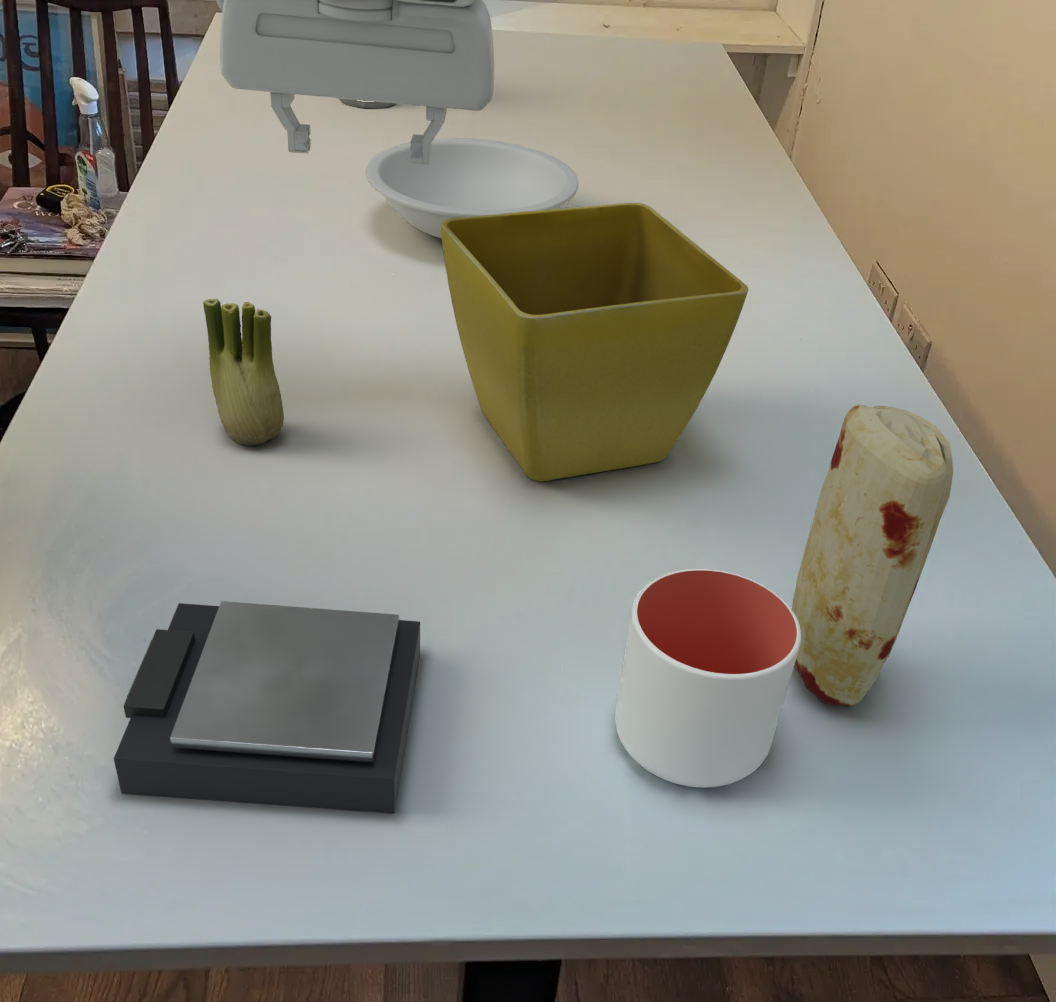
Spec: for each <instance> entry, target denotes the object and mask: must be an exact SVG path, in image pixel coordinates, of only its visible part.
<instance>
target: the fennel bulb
mask: <svg viewBox="0 0 1056 1002" xmlns="http://www.w3.org/2000/svg"><path fill="white" fill-rule="evenodd" d="M202 304H203V312H204V316H205V325H206V329H207V340H208V360H209V363H208V365H209V372H210V380H211V385H212V391H213V396H214V400H215V403H216V407H217V412H218V415H219V418H220V421H221V424H222V426H223V428H224V430H225V432H226V434H227V435H228V437H229V439H230V440H232V441H233V442H235V443H236V444H239V445H244V446H257V445H258V446H259V445H262V444H264V443H265V442H267V441H270V440H272V439H274V438H275V437H277V435H278V434H280V433H281V432H282V430H283V428H284V420H285V414H284V408H283V406H284V405H283V399H282V394H281V388H280V385H279V382H278V379H277V376H276V371H275V367H274V366H275V365H274V361H273V346H272V316H271V314H270V313H269V312H268V311H267V310H264V309H260V308H257V309H256V307H255V305H254V304H253V303H251V302H249V301H244V302H243V304H242V305H241V316H240V308H239V307H240V306H239V305H238V304H237V303H234V302H232V303H224V304H221V301H220V300H219V299H218V298H208V299H205V300H204V301H203V303H202Z"/></svg>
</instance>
